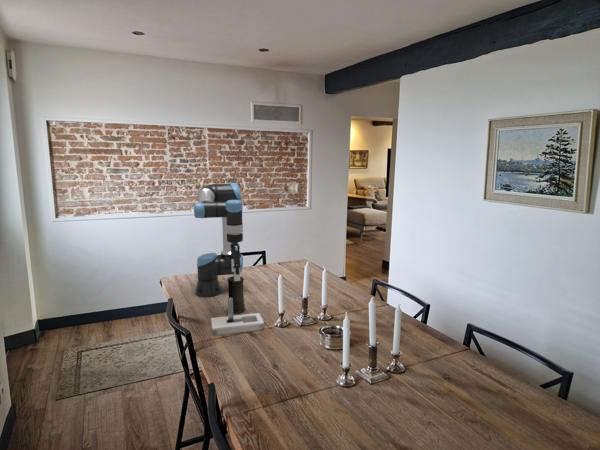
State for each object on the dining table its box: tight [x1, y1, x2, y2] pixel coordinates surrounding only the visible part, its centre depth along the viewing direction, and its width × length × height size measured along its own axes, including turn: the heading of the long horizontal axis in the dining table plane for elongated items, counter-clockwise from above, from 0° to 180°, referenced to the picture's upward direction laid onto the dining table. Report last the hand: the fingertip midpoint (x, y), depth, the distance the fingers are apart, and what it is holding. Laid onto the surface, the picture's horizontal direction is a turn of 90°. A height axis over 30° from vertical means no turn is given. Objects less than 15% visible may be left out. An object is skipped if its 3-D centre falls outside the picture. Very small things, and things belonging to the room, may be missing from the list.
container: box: [227, 275, 246, 315], centre depth 208 cm, size 9×9×18 cm
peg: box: [227, 296, 234, 323], centre depth 188 cm, size 5×5×15 cm
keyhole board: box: [210, 312, 265, 336], centre depth 190 cm, size 12×24×3 cm, turn 106°
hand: (235, 276), depth 190 cm, fingers open, 13 cm apart
